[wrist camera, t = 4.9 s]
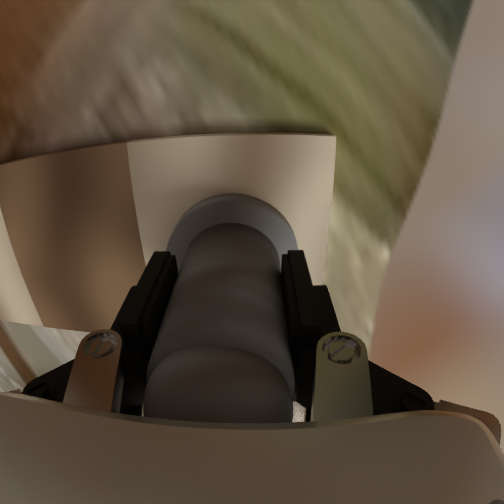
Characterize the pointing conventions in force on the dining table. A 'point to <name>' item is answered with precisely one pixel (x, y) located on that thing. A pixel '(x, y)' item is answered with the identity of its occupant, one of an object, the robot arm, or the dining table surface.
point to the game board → (141, 213)
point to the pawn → (225, 318)
